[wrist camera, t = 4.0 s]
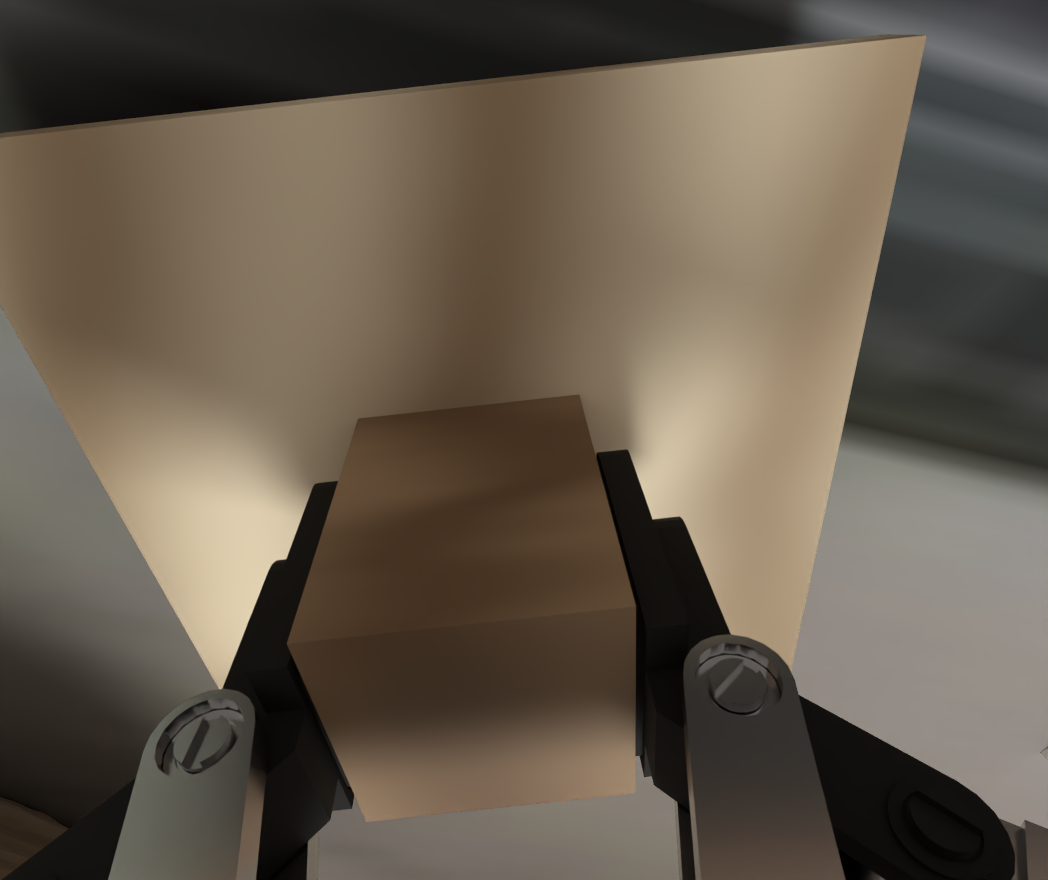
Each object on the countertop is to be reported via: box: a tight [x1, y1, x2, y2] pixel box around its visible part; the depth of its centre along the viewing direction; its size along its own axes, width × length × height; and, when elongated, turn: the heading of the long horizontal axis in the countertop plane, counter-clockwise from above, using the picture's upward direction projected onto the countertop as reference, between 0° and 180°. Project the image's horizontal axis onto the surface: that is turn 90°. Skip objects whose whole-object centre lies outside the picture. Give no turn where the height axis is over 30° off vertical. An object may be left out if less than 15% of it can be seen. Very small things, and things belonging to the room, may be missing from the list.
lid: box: [0, 35, 927, 822], centre depth 11 cm, size 14×14×6 cm
